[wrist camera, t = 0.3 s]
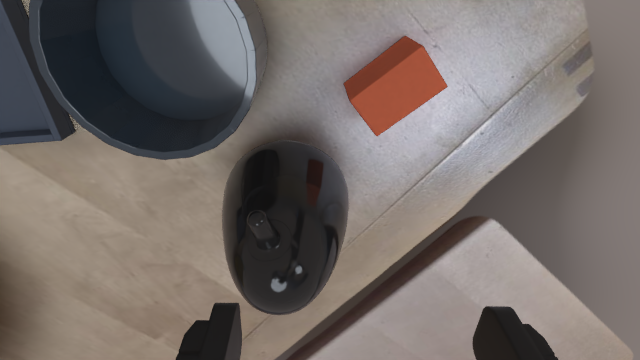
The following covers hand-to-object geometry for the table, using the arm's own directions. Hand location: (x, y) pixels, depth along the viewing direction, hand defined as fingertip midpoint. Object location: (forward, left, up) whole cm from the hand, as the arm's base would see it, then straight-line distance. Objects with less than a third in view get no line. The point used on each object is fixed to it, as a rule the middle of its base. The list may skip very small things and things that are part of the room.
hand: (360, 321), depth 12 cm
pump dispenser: (+3, -7, -22) cm, 23 cm away
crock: (-11, -6, -22) cm, 25 cm away
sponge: (+1, +5, -22) cm, 23 cm away
